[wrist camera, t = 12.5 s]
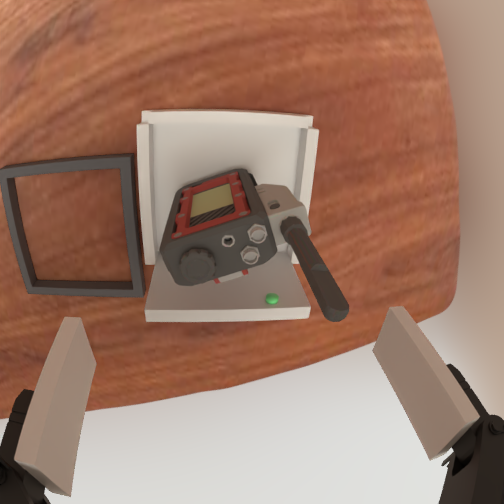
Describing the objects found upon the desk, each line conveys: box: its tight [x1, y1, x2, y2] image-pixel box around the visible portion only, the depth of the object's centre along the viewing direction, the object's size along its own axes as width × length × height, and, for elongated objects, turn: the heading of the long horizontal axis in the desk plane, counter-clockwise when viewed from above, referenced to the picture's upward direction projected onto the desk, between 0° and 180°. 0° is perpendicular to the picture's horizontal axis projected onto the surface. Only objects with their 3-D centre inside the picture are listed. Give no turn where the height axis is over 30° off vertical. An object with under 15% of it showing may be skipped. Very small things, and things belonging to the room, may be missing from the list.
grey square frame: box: [0, 153, 146, 297], centre depth 29 cm, size 15×15×2 cm
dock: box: [137, 109, 319, 322], centre depth 26 cm, size 15×15×10 cm
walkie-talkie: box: [159, 168, 349, 322], centre depth 20 cm, size 9×4×20 cm, turn 106°
